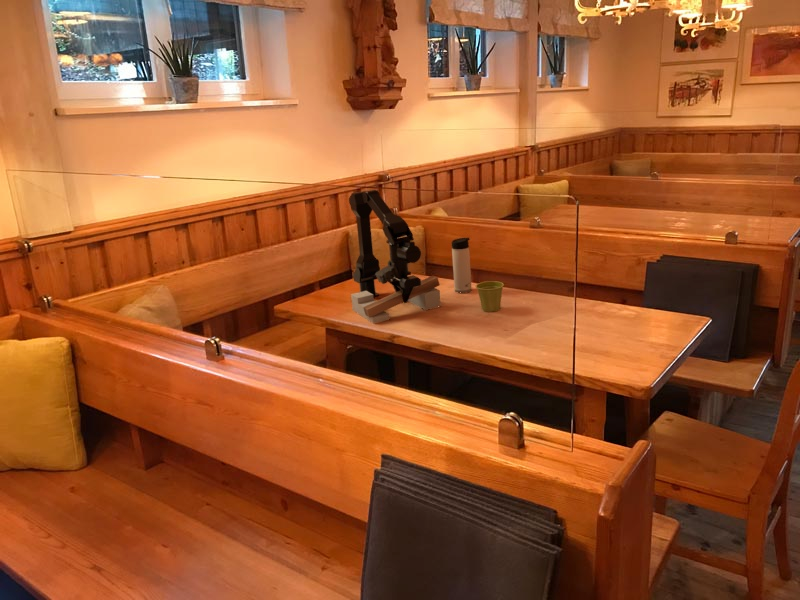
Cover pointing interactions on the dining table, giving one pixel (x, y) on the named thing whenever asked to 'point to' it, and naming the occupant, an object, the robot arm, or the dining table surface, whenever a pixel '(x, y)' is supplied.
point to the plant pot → (490, 295)
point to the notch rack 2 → (427, 299)
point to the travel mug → (461, 265)
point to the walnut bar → (399, 297)
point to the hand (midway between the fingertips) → (402, 301)
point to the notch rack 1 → (363, 300)
